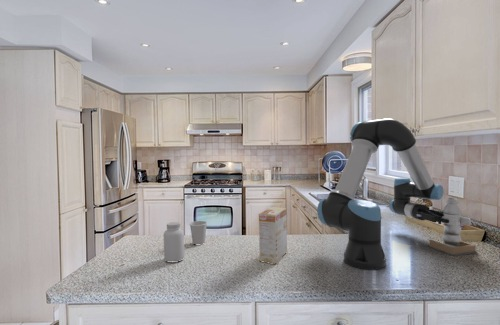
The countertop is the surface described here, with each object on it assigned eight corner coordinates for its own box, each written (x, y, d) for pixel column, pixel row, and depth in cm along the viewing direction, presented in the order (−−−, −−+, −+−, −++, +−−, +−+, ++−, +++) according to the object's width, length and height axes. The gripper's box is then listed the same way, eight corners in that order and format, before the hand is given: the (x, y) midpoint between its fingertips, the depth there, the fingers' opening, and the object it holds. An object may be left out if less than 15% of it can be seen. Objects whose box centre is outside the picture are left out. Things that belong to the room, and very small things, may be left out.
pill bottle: (178, 254, 119) (177, 220, 119) (188, 259, 114) (187, 223, 113) (160, 259, 114) (159, 223, 113) (170, 265, 108) (169, 227, 108)
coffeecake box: (272, 250, 123) (271, 206, 122) (287, 252, 120) (287, 207, 119) (258, 262, 110) (257, 213, 109) (275, 265, 106) (274, 214, 106)
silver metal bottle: (454, 242, 122) (455, 197, 122) (465, 247, 116) (465, 200, 115) (439, 242, 123) (439, 197, 122) (448, 247, 116) (448, 200, 116)
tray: (454, 255, 112) (454, 248, 112) (428, 246, 124) (428, 239, 124) (476, 252, 115) (476, 245, 115) (449, 243, 127) (449, 237, 127)
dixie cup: (202, 247, 128) (201, 225, 128) (186, 245, 131) (186, 224, 131) (210, 241, 136) (210, 221, 136) (195, 240, 139) (195, 220, 139)
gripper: (432, 217, 139) (481, 229, 116) (401, 220, 134) (445, 233, 112) (432, 202, 139) (481, 211, 116) (401, 204, 134) (445, 215, 112)
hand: (463, 222), depth 114 cm, fingers closed on silver metal bottle, 6 cm apart
